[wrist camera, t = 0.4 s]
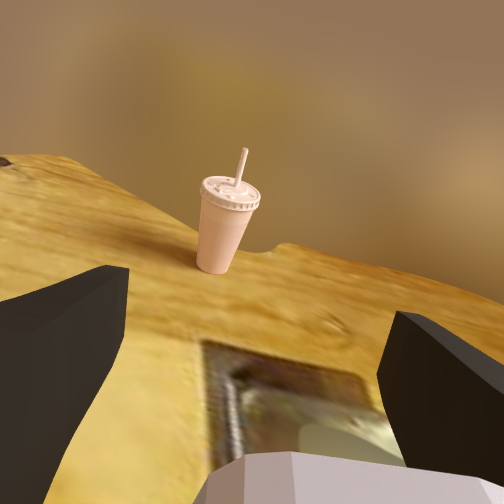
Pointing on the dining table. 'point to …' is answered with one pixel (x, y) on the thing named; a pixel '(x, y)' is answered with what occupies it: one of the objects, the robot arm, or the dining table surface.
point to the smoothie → (224, 218)
